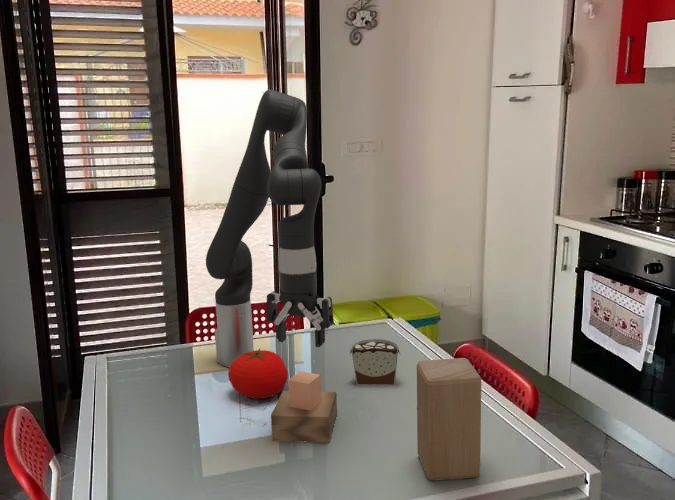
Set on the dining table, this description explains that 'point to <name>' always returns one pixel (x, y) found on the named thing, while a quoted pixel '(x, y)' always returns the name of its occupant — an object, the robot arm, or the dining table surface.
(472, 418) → the wooden block
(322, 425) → the walnut block
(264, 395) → the tomato
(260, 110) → the robot arm
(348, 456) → the dining table surface
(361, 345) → the food container
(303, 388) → the terracotta block
